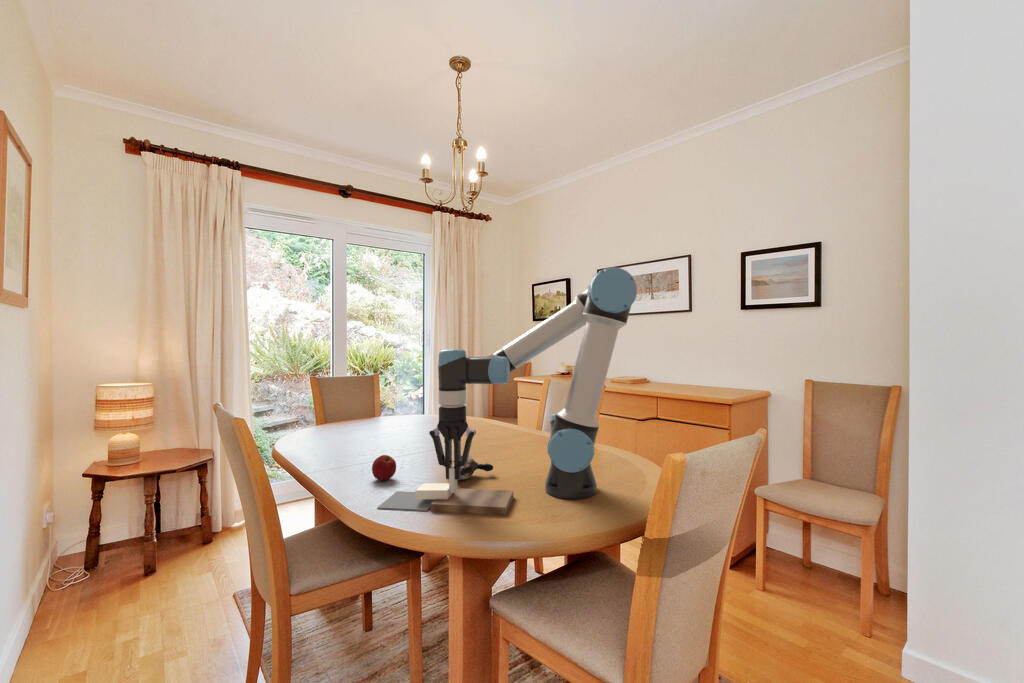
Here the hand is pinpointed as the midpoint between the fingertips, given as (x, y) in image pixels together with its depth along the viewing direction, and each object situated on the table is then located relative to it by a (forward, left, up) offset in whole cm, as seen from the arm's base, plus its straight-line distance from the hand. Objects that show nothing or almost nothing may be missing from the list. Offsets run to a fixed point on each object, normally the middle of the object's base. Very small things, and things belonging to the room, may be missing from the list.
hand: (453, 490), depth 126 cm
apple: (+28, -18, -4) cm, 33 cm away
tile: (+5, 0, -2) cm, 5 cm away
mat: (+12, 0, -4) cm, 13 cm away
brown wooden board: (-6, 0, -4) cm, 7 cm away
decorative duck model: (+1, -21, -4) cm, 21 cm away
